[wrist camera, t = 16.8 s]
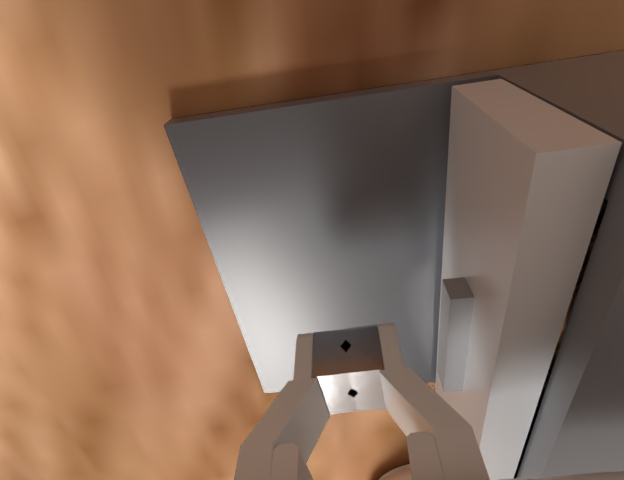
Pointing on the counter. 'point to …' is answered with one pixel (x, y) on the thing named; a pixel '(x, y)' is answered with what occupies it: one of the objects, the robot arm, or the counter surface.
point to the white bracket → (511, 254)
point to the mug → (398, 473)
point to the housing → (399, 236)
